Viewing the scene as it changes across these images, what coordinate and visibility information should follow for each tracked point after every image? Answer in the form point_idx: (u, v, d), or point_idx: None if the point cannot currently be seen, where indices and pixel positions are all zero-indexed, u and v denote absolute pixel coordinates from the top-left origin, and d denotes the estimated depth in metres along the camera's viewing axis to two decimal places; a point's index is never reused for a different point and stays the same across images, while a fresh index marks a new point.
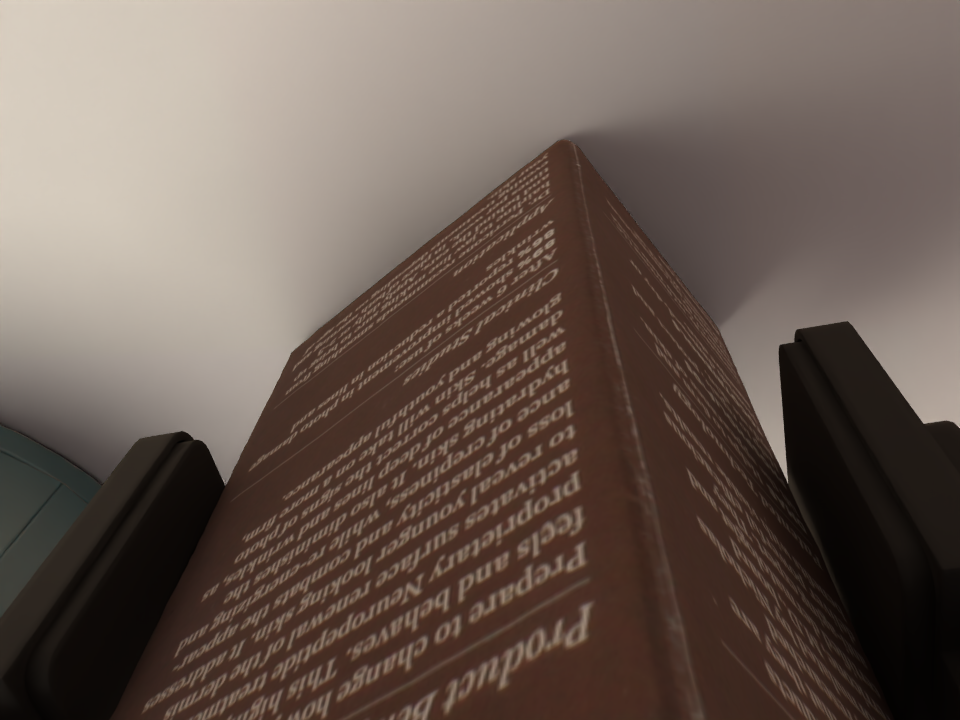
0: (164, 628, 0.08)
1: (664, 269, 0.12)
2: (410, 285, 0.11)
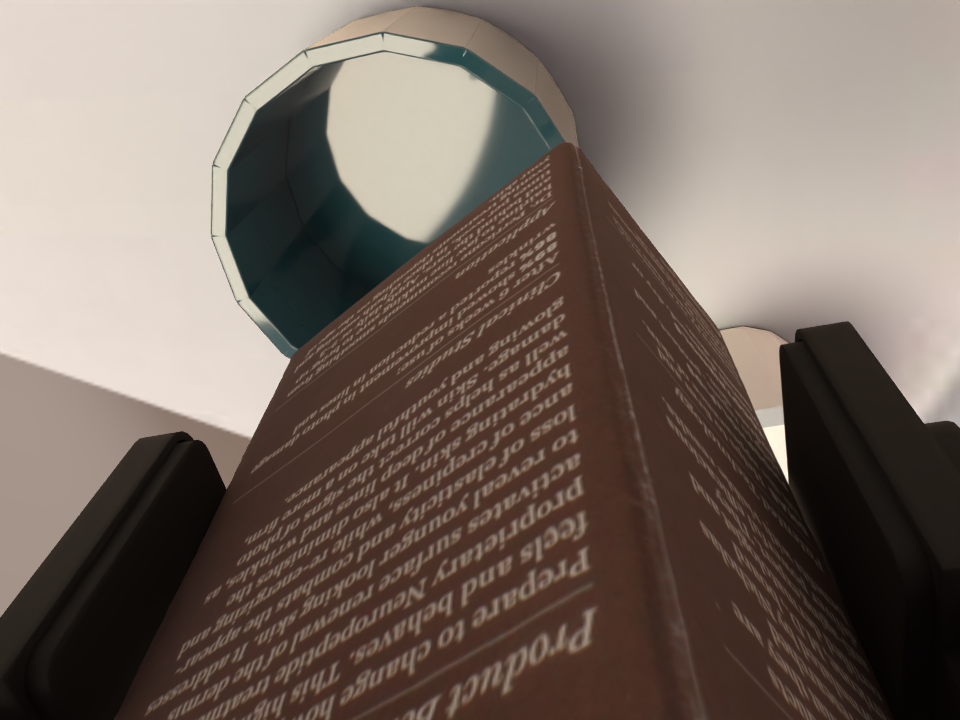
0: (167, 630, 0.08)
1: (666, 271, 0.12)
2: (411, 288, 0.11)
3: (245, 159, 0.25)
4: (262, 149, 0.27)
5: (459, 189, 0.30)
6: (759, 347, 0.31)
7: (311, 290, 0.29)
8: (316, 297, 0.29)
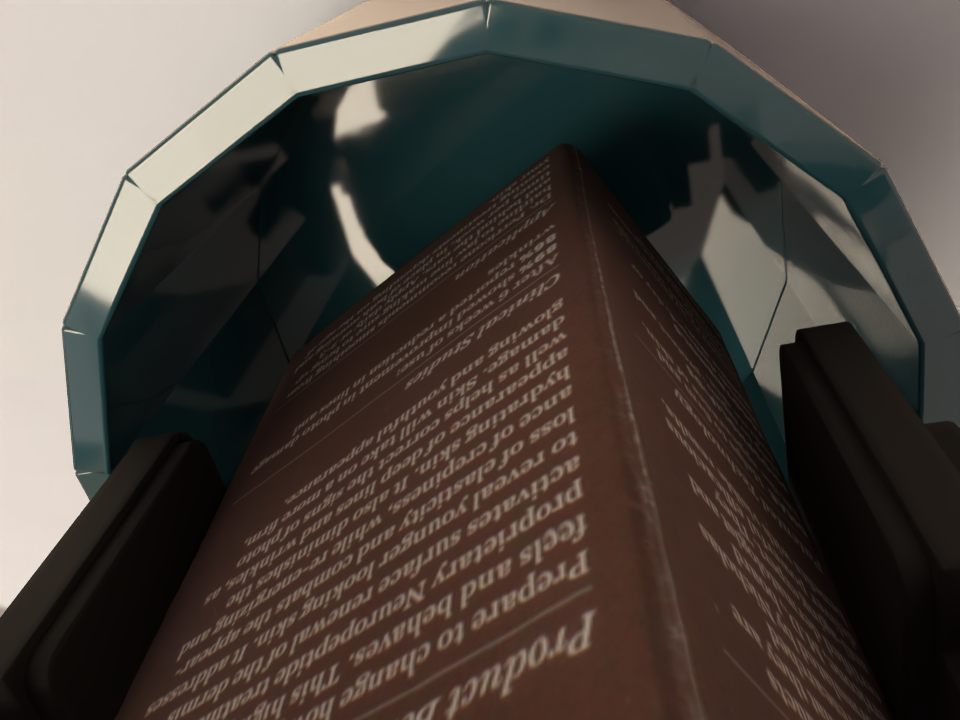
0: (166, 631, 0.08)
1: (665, 272, 0.12)
2: (411, 288, 0.11)
3: (153, 294, 0.11)
4: (200, 256, 0.13)
5: None
6: None
7: None
8: None
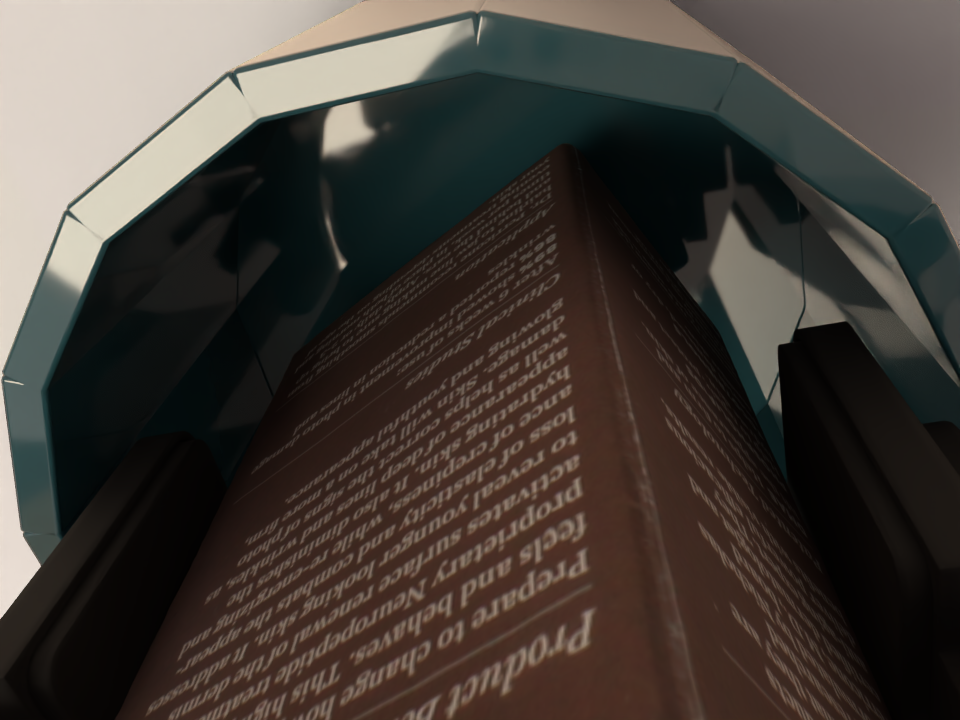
0: (167, 630, 0.08)
1: (665, 272, 0.12)
2: (411, 289, 0.11)
3: (110, 334, 0.10)
4: (167, 288, 0.12)
5: None
6: None
7: None
8: None
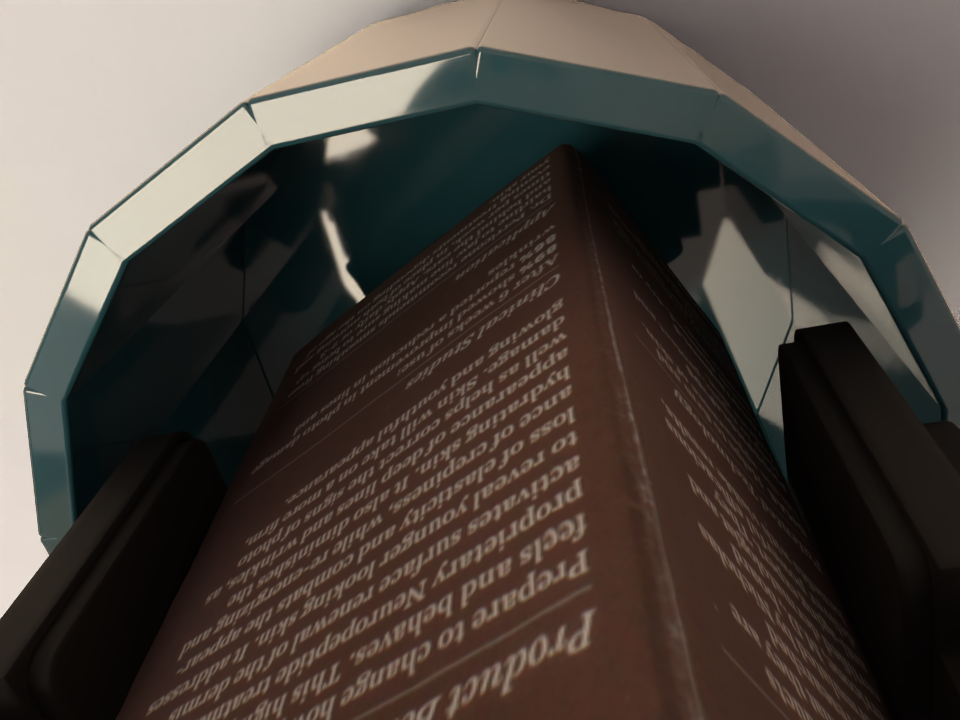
0: (167, 631, 0.08)
1: (665, 273, 0.12)
2: (411, 289, 0.11)
3: (125, 347, 0.11)
4: (178, 302, 0.12)
5: None
6: None
7: None
8: None
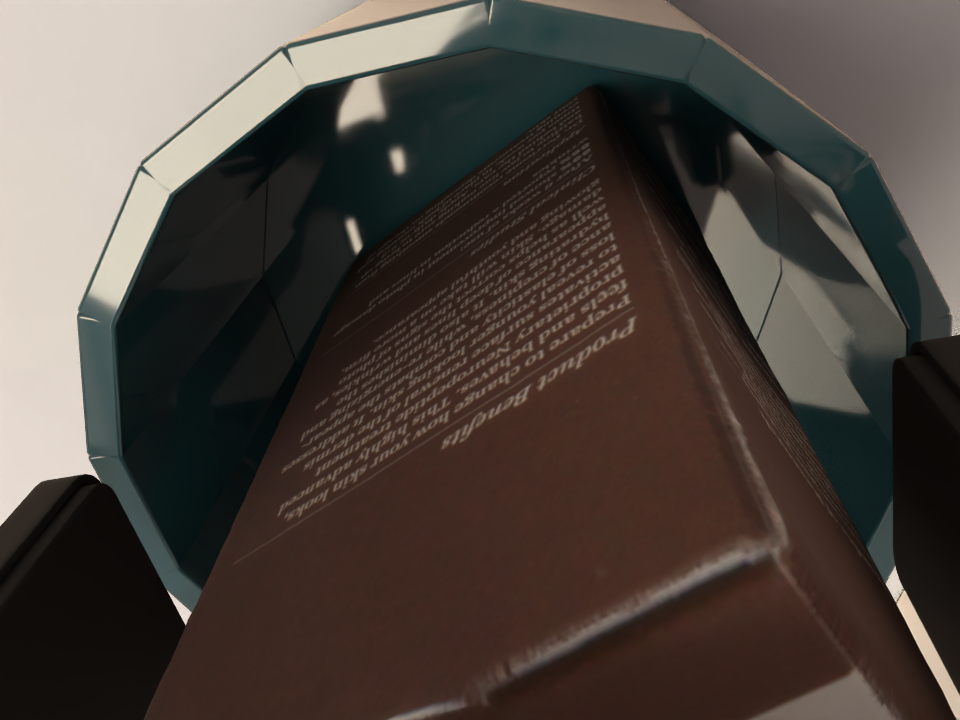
0: (282, 433, 0.11)
1: (669, 194, 0.14)
2: (462, 199, 0.14)
3: (164, 284, 0.12)
4: (208, 249, 0.13)
5: None
6: None
7: None
8: None
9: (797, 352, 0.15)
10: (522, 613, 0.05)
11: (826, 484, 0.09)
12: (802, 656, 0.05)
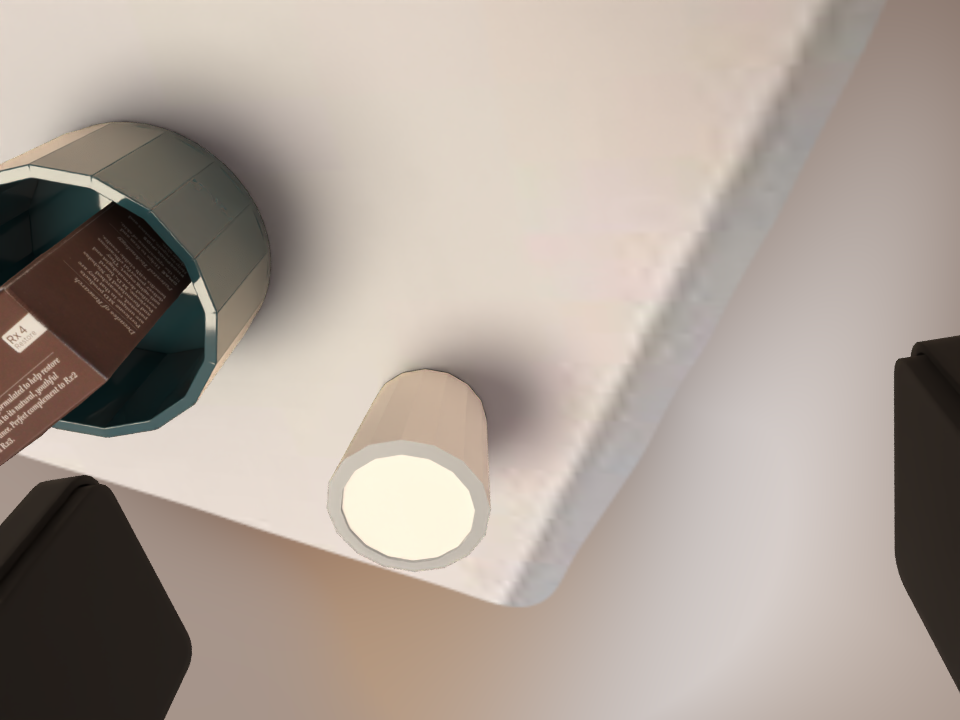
0: None
1: None
2: None
3: None
4: None
5: None
6: (421, 388, 0.37)
7: None
8: None
9: None
10: None
11: (141, 309, 0.29)
12: (17, 309, 0.25)
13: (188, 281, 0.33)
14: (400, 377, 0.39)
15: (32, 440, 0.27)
